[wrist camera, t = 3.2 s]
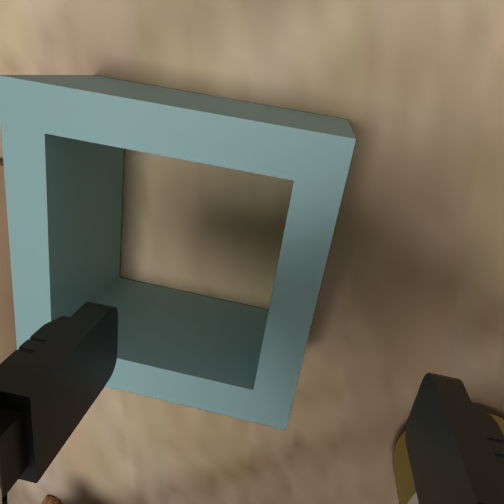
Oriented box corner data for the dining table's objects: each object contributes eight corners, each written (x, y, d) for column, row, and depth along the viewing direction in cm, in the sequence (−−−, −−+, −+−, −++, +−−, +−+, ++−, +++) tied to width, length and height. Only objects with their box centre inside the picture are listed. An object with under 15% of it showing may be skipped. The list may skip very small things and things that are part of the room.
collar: (347, 119, 18) (355, 138, 12) (296, 342, 22) (285, 430, 17) (93, 75, 19) (-4, 75, 13) (91, 296, 23) (18, 365, 18)
